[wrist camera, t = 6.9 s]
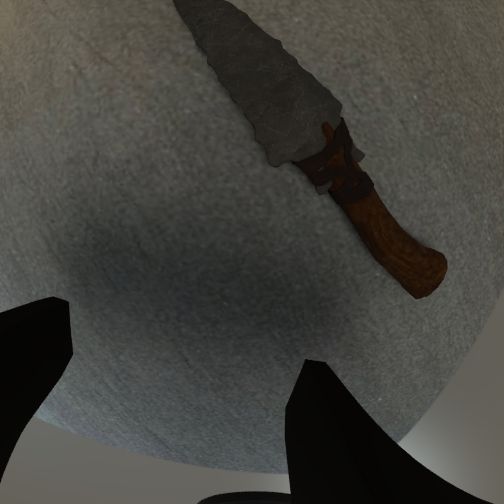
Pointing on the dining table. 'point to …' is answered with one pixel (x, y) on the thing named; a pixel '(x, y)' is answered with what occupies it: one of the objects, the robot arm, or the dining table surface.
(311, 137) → the knife
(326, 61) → the dining table surface
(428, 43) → the dining table surface
